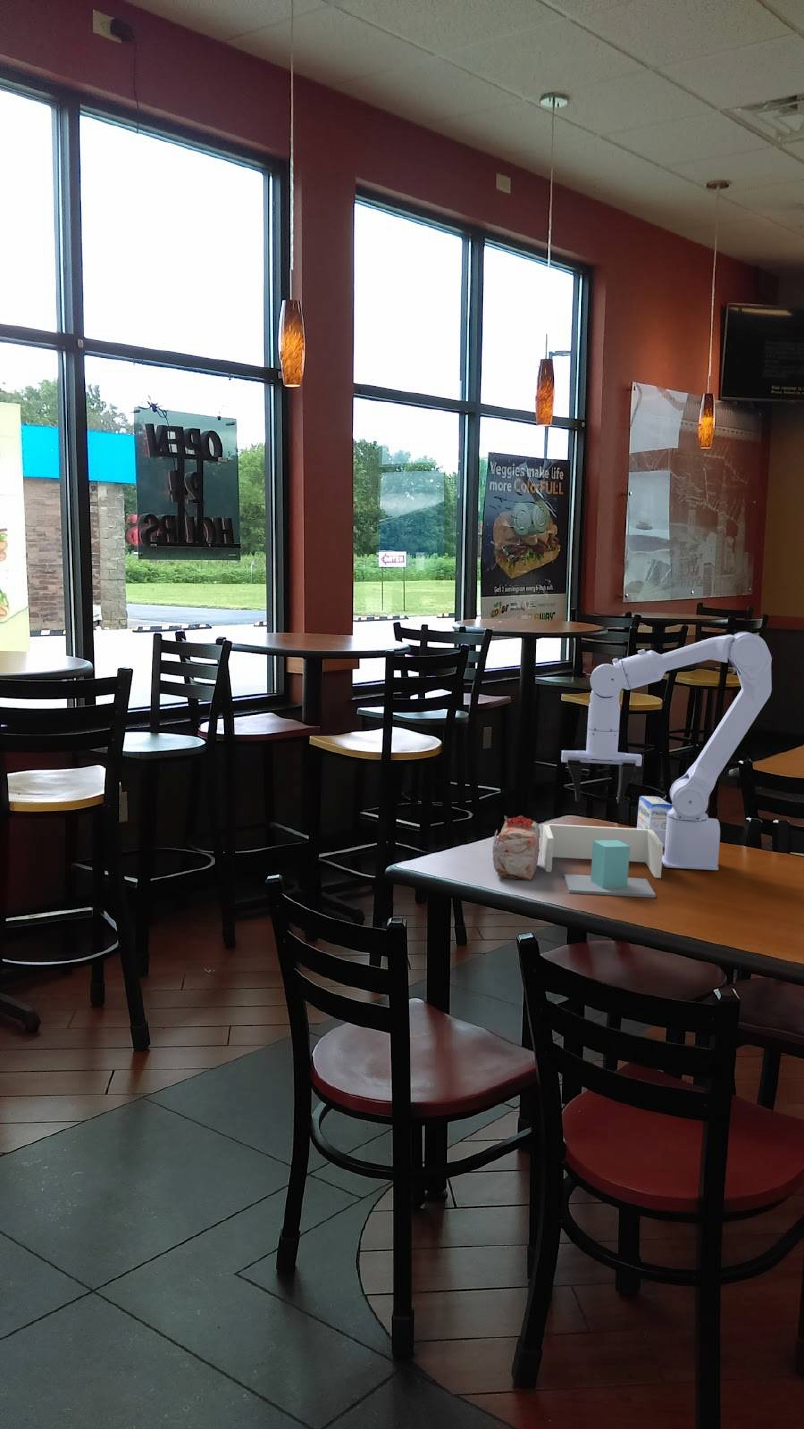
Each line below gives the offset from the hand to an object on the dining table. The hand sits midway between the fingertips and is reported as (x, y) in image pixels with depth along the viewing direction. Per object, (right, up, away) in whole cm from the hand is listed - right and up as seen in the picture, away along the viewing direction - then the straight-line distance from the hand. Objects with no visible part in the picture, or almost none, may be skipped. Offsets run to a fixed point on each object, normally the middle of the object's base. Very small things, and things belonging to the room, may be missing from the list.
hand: (598, 802), depth 210 cm
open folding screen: (-1, -11, -6) cm, 13 cm away
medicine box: (+13, -10, +15) cm, 23 cm away
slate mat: (-2, -13, -20) cm, 23 cm away
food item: (-17, -12, -11) cm, 23 cm away
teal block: (-2, -12, -20) cm, 23 cm away
